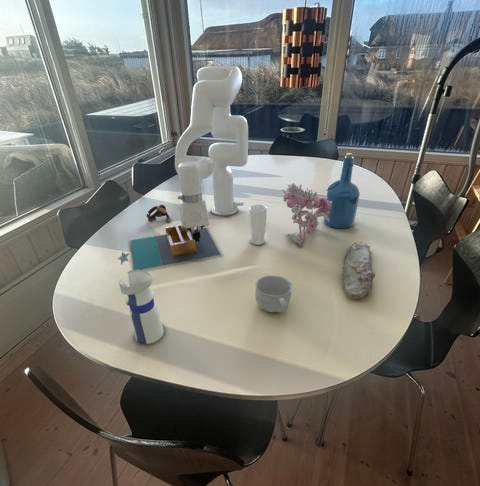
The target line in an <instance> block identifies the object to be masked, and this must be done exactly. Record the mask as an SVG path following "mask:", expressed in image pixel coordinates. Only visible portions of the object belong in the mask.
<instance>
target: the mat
mask: <svg viewBox="0 0 480 486" xmlns="http://www.w3.org/2000/svg"><path fill="white" fill-rule="evenodd" d="M189 232H190V234H191V236H192V232H191V231H189ZM200 237H201V238H199V240H200V241H199V242H198V241H197V242H195V243H196V252H197V253H196V254H191V255H186V256H181V257H175V258H173V255H172V252H171V249H170V246H169V243H168V240H167V235H166V234H162V235H161V234H160V235H155V236H149V237H144V238H143V237H142V238H138V239H132V240H130V243H131V254H132V263H133V270H148V269H153V268H159V267H163V266H168V265H169V266H170V265H174V264H179V263H184V262H188V261H189V262H190V261H196V260H199V259H205V258H206V259H207V258H211V257H215V256H221V253H220V251H219V249H218V247H217V245H216V244H215V242H214V240H213V238H212V236H211V234H210V233H209V231H208V229H207V227H203V229H202V230H201V232H200ZM192 238H193V237H192Z"/></svg>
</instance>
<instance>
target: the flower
mask: <svg viewBox="0 0 480 486" xmlns="http://www.w3.org/2000/svg"><path fill="white" fill-rule="evenodd" d="M302 186H303V184H299V186H298V185H297V184H295V182H293V183H291V184H287V188H286V190H285V189H282V190H281V192H283V193H284V195H283V198H282V199H283V202H284V203H286V207H287V208H290V209H291V210H290V212H291V213H292V217H291V219H292V224H297V225H298V229H299V231H298V232H299V233H296V232H289V233H287V236H289V237H290V239H291V240H292V241H293V242H296V243H297V244H299V247H301V245H302V243H303V242H304V239H305V238H306V236H307V235H308V233H309V232H312V231H313V230H315V229H316V228H317V227H318V226H319V224H320V222H319V220H318V218H321V217H323V219H324V218H325V219H326V220H328V222H329V218H328V217H327V216H328V215H329V213H330V211H329V209H331V207H332V206H331V204H332V201H328V200H327V199H328V197H327V196H326V197H324V196H320V197H318V192H317V191H314V193H313V188H311V189H309V188H306V190H304V189H303V188H302ZM326 200H327V201H326ZM305 208H306V209H307V210H304V209H305ZM328 208H329V209H328ZM313 209H314V210H315V212H314V213H313V212H312V211H309V210H313ZM302 217H304V219H305V220H303V218H302ZM302 228H303V229H302Z"/></svg>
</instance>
